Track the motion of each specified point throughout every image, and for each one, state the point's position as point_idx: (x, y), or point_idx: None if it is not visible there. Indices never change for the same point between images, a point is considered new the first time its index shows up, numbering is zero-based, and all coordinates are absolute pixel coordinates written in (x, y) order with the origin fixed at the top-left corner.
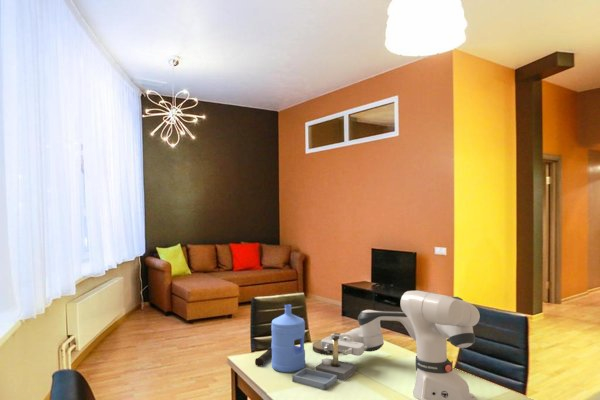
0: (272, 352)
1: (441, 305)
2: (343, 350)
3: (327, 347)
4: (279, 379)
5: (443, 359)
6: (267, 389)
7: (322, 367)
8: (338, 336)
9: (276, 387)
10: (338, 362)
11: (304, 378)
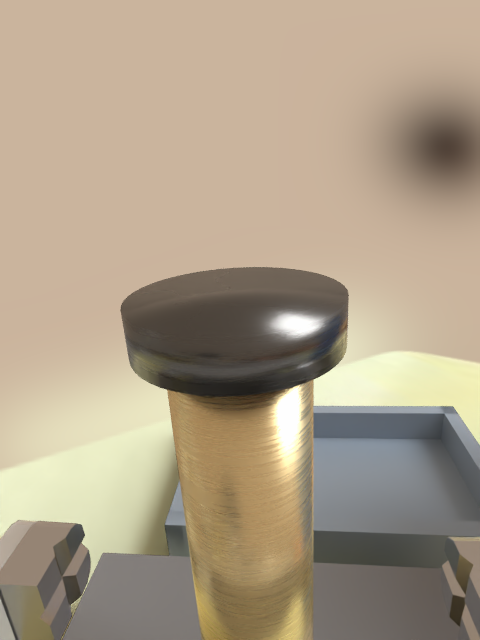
0: None
1: None
2: (64, 539)
3: (469, 571)
4: None
5: None
6: (450, 361)
7: (382, 592)
8: (143, 308)
9: (440, 379)
10: None
11: (354, 406)
